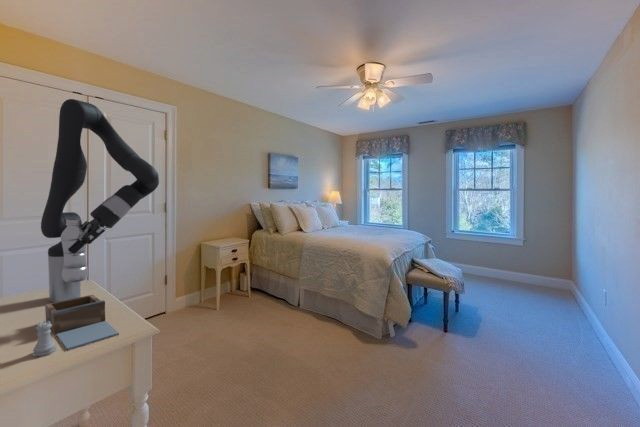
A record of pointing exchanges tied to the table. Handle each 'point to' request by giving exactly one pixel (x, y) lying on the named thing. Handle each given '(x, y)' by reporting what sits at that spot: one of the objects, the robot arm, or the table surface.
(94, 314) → the holder
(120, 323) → the table surface
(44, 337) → the rook chess piece
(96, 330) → the mat
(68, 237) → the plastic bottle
